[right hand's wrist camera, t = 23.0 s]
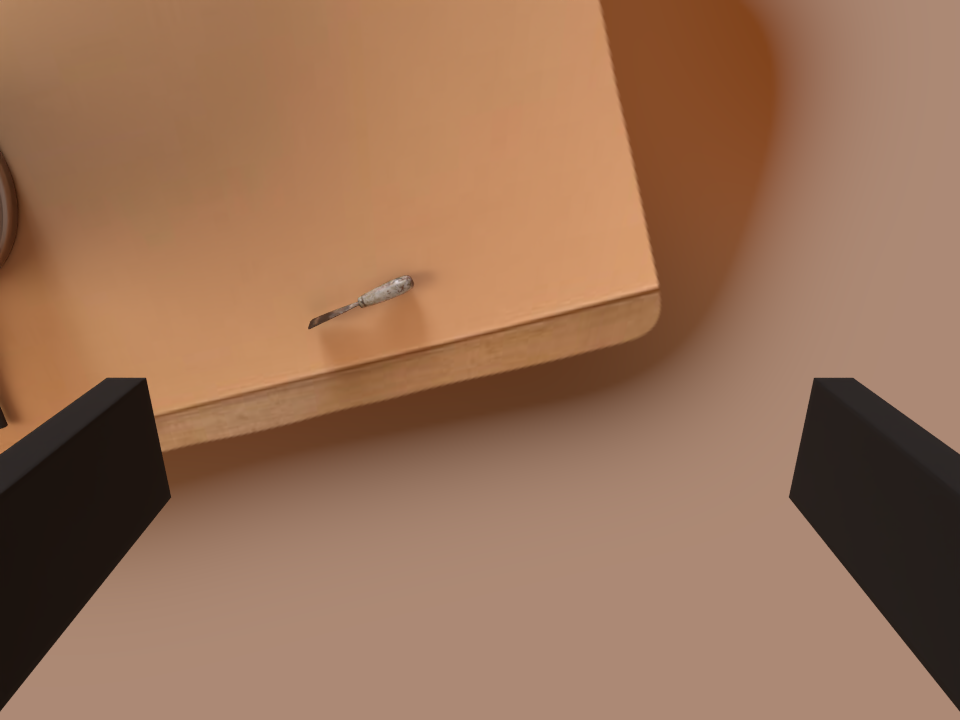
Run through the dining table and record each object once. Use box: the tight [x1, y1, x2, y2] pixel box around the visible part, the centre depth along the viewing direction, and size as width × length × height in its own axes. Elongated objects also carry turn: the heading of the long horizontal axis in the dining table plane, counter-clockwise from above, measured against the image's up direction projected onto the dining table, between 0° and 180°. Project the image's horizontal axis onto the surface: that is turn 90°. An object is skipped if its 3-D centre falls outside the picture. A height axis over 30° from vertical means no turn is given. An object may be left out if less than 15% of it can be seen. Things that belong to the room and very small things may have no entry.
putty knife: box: [308, 275, 414, 329], centre depth 44 cm, size 1×8×2 cm, turn 114°
